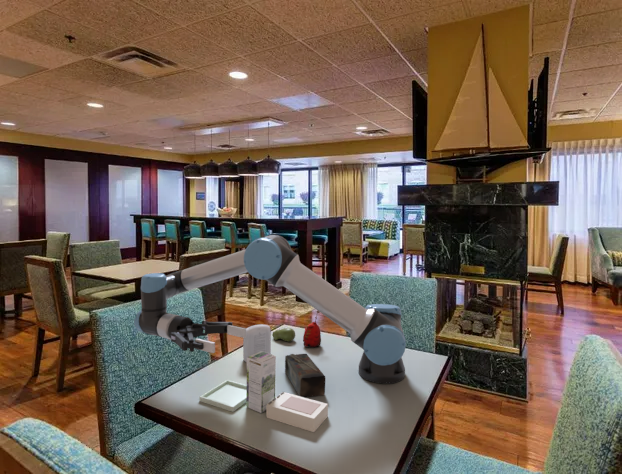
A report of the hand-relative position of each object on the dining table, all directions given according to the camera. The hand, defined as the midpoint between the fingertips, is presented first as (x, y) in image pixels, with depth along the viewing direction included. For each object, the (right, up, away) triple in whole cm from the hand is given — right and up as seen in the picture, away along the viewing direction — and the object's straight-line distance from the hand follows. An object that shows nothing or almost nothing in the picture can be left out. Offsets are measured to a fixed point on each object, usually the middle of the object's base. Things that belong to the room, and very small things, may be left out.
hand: (230, 340), depth 111 cm
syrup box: (+9, -18, -3) cm, 20 cm away
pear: (+12, -13, +49) cm, 52 cm away
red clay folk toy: (+23, -14, +43) cm, 51 cm away
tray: (-1, -17, +2) cm, 17 cm away
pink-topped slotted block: (+19, -18, -8) cm, 28 cm away
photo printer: (+3, -15, +30) cm, 34 cm away
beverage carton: (+21, -17, +11) cm, 29 cm away
